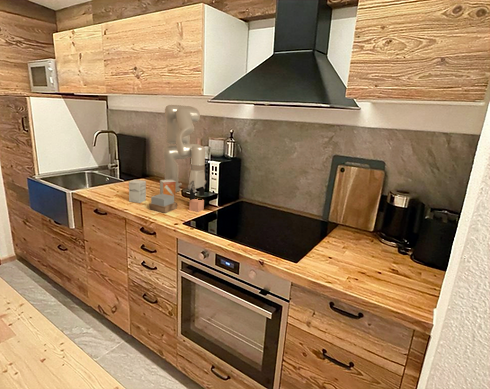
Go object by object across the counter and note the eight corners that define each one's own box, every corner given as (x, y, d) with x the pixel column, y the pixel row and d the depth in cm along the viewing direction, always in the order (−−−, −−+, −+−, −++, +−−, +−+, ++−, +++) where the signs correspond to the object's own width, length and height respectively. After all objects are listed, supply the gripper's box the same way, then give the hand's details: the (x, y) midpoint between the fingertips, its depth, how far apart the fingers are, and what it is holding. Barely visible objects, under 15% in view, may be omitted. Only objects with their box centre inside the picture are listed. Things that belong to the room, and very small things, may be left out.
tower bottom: (162, 205, 179) (162, 199, 178) (177, 209, 175) (177, 202, 174) (149, 210, 169) (149, 203, 168) (164, 214, 165) (164, 207, 164)
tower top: (161, 199, 177) (161, 193, 176) (174, 202, 174) (174, 196, 172) (151, 203, 169) (151, 196, 168) (164, 206, 166) (164, 199, 165)
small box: (163, 203, 183) (163, 182, 179) (159, 200, 188) (159, 180, 184) (175, 201, 187) (175, 181, 184) (172, 198, 192) (172, 179, 189)
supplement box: (128, 201, 180) (128, 181, 177) (135, 198, 187) (135, 179, 184) (139, 203, 179) (139, 183, 176) (146, 200, 186) (146, 180, 183)
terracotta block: (195, 207, 179) (195, 198, 177) (203, 209, 177) (203, 200, 175) (189, 210, 174) (189, 200, 172) (198, 212, 171) (198, 202, 170)
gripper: (200, 165, 177) (199, 193, 182) (183, 169, 162) (182, 199, 166) (211, 166, 174) (210, 195, 179) (194, 170, 159) (194, 201, 163)
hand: (197, 197), depth 172 cm, fingers open, 9 cm apart
